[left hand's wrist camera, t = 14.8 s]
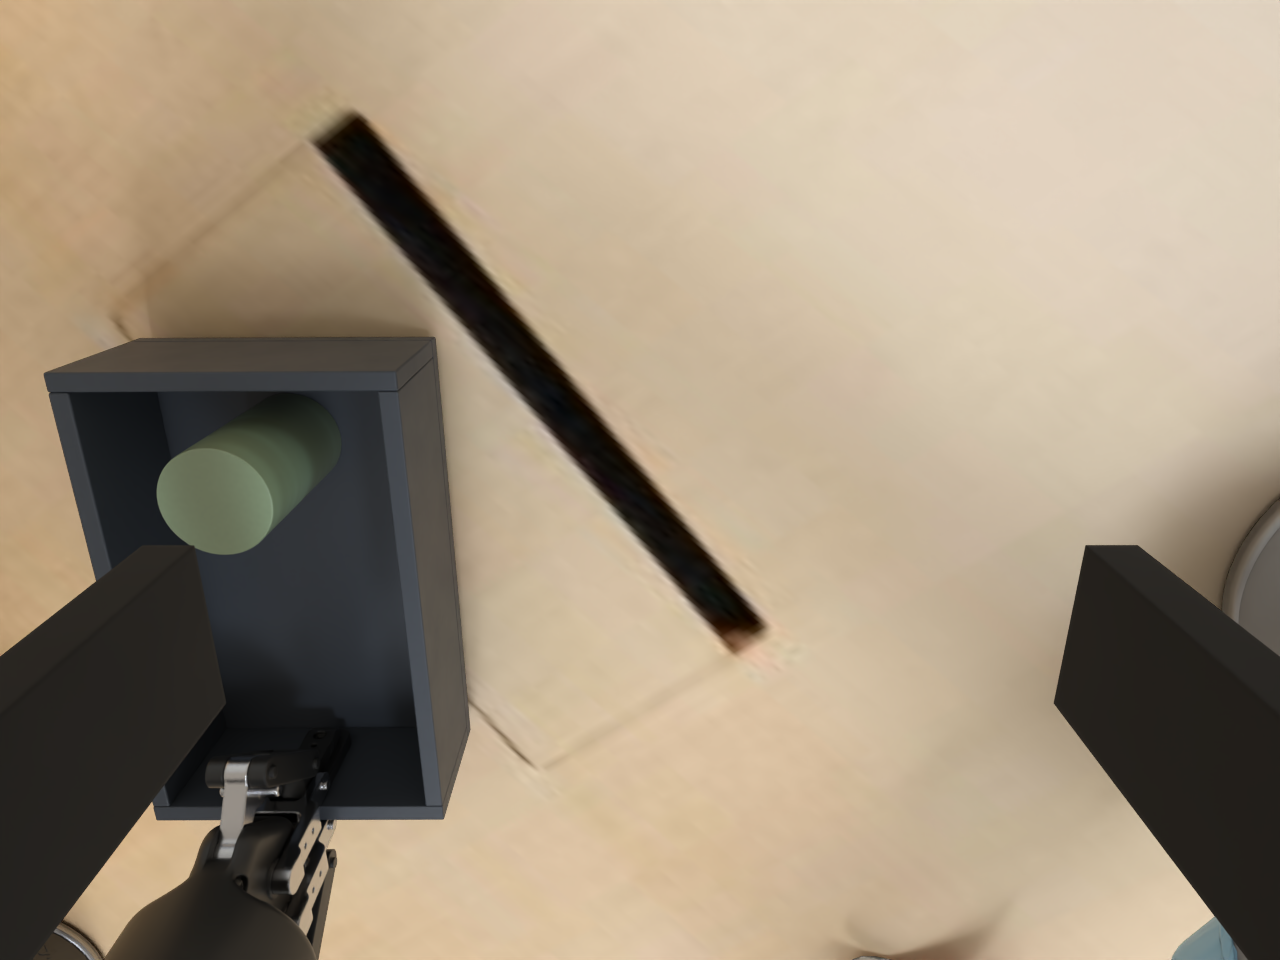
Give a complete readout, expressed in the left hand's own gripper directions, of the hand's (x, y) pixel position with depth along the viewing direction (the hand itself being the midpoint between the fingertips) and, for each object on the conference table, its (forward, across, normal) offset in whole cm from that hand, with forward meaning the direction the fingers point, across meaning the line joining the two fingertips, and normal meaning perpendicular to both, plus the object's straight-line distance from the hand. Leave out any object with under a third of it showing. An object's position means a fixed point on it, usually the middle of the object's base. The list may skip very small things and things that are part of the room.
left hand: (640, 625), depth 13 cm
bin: (+28, +16, +12) cm, 34 cm away
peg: (+27, +16, +6) cm, 32 cm away
